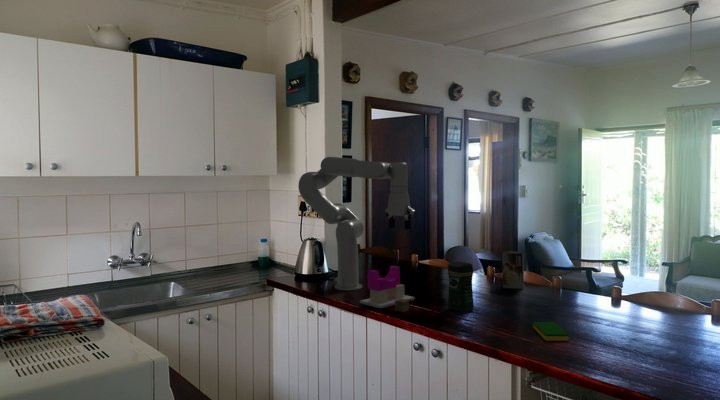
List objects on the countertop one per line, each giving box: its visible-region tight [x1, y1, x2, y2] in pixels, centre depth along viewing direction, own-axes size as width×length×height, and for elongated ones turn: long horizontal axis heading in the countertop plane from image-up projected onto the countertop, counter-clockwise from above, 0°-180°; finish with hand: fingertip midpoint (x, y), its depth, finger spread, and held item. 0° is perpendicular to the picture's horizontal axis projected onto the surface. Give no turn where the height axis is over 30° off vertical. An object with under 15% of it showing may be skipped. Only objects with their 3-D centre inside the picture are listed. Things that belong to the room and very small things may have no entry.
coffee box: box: [501, 250, 525, 290], centre depth 237 cm, size 9×6×16 cm
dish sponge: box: [532, 321, 569, 342], centre depth 168 cm, size 7×14×2 cm, turn 177°
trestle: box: [359, 283, 416, 309], centre depth 214 cm, size 12×20×6 cm, turn 132°
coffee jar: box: [447, 260, 474, 313], centre depth 200 cm, size 10×8×19 cm
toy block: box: [366, 265, 401, 291], centre depth 214 cm, size 15×6×8 cm, turn 132°
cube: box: [394, 299, 410, 313], centre depth 200 cm, size 4×4×4 cm
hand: (399, 228), depth 231 cm, fingers open, 9 cm apart
